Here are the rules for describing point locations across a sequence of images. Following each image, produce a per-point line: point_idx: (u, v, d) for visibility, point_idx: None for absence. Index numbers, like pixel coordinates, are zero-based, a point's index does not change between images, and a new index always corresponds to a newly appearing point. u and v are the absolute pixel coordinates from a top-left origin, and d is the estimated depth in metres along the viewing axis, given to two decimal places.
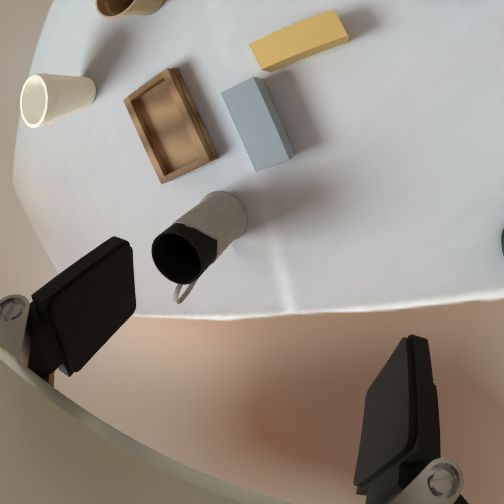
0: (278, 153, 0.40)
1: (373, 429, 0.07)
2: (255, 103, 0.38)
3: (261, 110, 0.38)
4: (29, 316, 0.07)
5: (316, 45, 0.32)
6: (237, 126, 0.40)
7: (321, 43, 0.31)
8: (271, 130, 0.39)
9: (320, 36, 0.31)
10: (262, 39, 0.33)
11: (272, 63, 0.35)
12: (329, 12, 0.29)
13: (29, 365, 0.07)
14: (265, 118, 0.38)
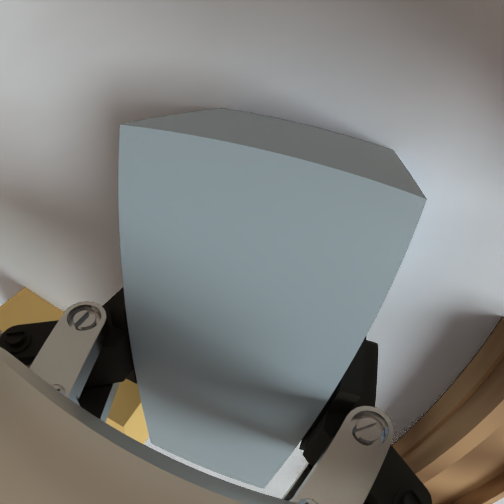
0: (163, 204, 0.05)
1: None
2: (173, 420, 0.09)
3: (161, 397, 0.08)
4: (103, 331, 0.07)
5: None
6: (294, 436, 0.07)
7: None
8: (150, 328, 0.07)
9: None
10: None
11: None
12: None
13: (91, 375, 0.07)
14: (157, 374, 0.08)
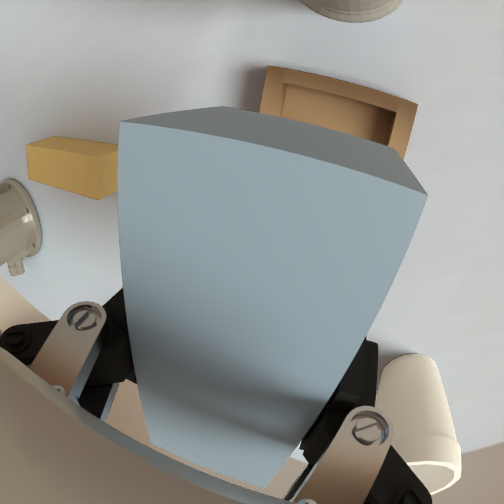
0: (162, 201, 0.05)
1: None
2: (173, 419, 0.09)
3: (161, 397, 0.08)
4: (103, 332, 0.07)
5: (46, 149, 0.25)
6: (294, 436, 0.07)
7: (43, 149, 0.25)
8: (149, 326, 0.07)
9: (41, 157, 0.26)
10: (84, 193, 0.26)
11: (85, 156, 0.24)
12: (31, 178, 0.28)
13: (91, 375, 0.07)
14: (157, 373, 0.08)
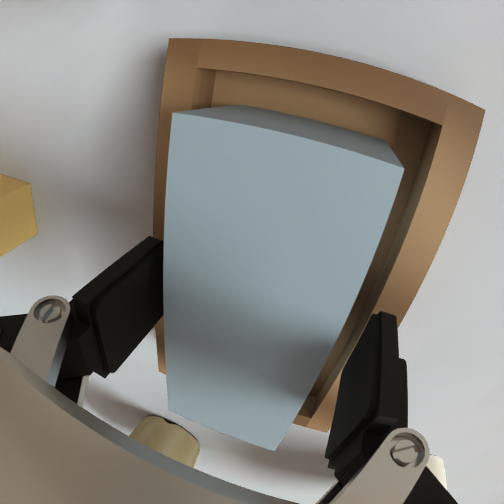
0: (206, 174, 0.07)
1: (343, 403, 0.08)
2: (194, 379, 0.11)
3: (186, 355, 0.10)
4: (69, 322, 0.07)
5: None
6: (305, 384, 0.09)
7: None
8: (184, 284, 0.09)
9: None
10: None
11: None
12: None
13: (62, 368, 0.07)
14: (185, 330, 0.09)
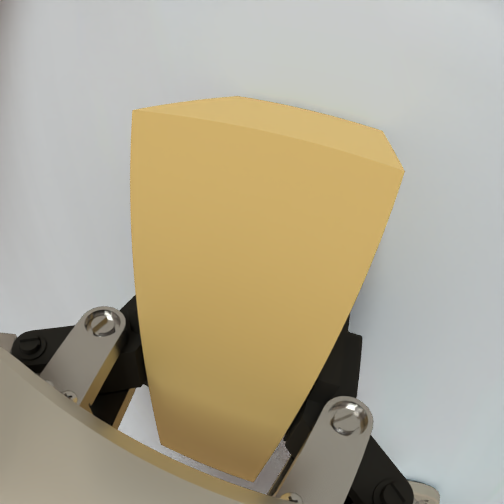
0: None
1: None
2: None
3: None
4: (121, 339, 0.07)
5: (154, 396, 0.08)
6: None
7: (156, 407, 0.09)
8: None
9: (184, 425, 0.09)
10: (345, 290, 0.05)
11: (137, 206, 0.05)
12: (250, 476, 0.10)
13: (106, 381, 0.07)
14: None
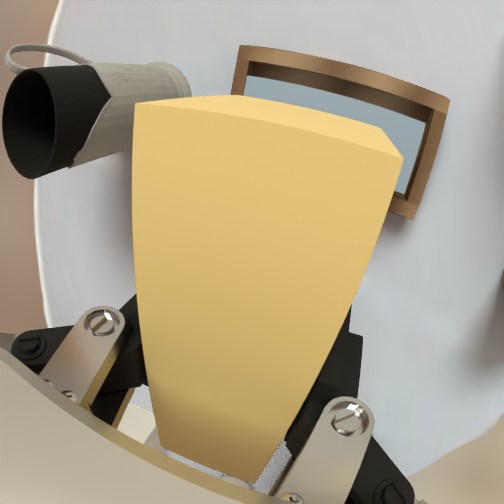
0: None
1: None
2: None
3: None
4: (120, 339, 0.07)
5: (154, 396, 0.08)
6: (346, 99, 0.18)
7: (156, 407, 0.09)
8: None
9: (184, 425, 0.09)
10: (346, 280, 0.05)
11: (139, 199, 0.05)
12: (251, 477, 0.09)
13: (106, 381, 0.07)
14: None
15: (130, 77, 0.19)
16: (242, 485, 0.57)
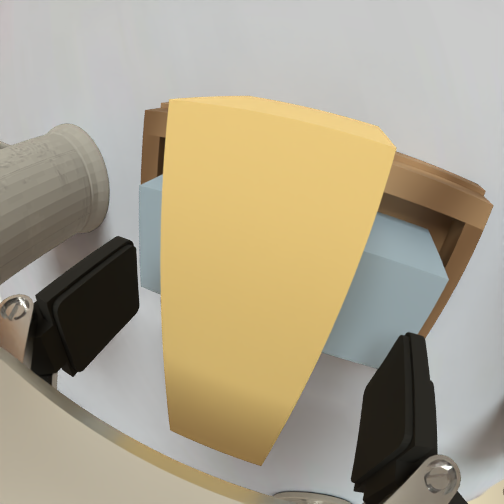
0: None
1: (370, 426, 0.07)
2: None
3: None
4: (33, 317, 0.07)
5: (168, 375, 0.09)
6: None
7: (169, 387, 0.09)
8: None
9: (196, 404, 0.09)
10: (351, 252, 0.05)
11: (169, 183, 0.06)
12: (259, 458, 0.10)
13: (32, 365, 0.07)
14: None
15: (3, 183, 0.12)
16: None
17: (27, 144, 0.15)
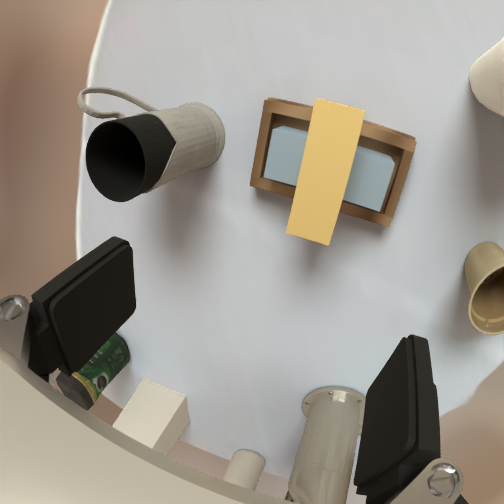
0: (277, 170, 0.30)
1: (373, 429, 0.07)
2: (350, 189, 0.29)
3: None
4: (30, 317, 0.07)
5: (297, 189, 0.26)
6: None
7: (295, 196, 0.26)
8: None
9: (306, 203, 0.26)
10: (357, 134, 0.22)
11: (312, 118, 0.23)
12: (328, 237, 0.27)
13: (29, 365, 0.07)
14: None
15: (184, 124, 0.29)
16: (256, 457, 0.68)
17: (183, 109, 0.32)
